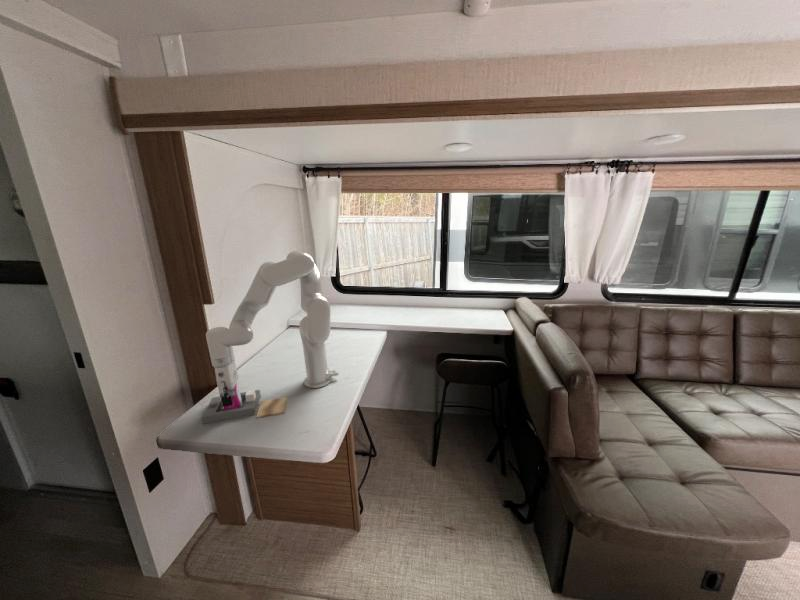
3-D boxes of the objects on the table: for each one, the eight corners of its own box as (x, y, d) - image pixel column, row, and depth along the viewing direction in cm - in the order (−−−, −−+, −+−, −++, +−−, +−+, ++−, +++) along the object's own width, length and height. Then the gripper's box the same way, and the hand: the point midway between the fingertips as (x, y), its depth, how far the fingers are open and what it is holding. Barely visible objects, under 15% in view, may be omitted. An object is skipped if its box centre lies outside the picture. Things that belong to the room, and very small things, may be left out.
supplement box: (226, 406, 120) (221, 381, 116) (243, 403, 122) (237, 378, 118) (224, 415, 114) (218, 389, 111) (241, 411, 116) (235, 386, 113)
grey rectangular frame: (260, 395, 126) (258, 383, 125) (255, 414, 114) (252, 401, 113) (213, 403, 122) (210, 391, 120) (202, 424, 110) (199, 410, 108)
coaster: (286, 398, 124) (286, 397, 124) (284, 412, 115) (284, 411, 114) (261, 402, 121) (260, 401, 121) (256, 418, 112) (256, 416, 112)
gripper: (227, 368, 105) (236, 409, 109) (239, 348, 121) (246, 385, 126) (203, 371, 103) (213, 413, 108) (219, 351, 119) (226, 388, 124)
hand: (231, 398), depth 117 cm, fingers open, 9 cm apart
